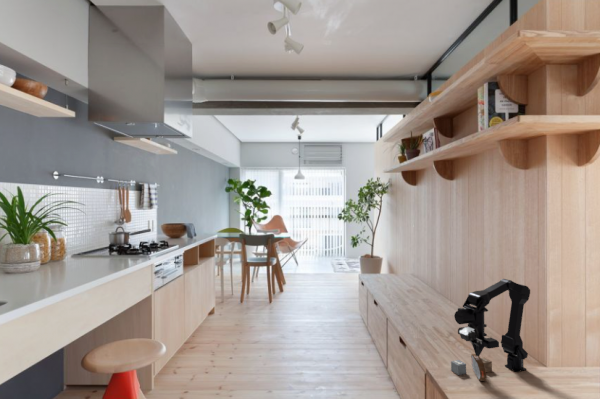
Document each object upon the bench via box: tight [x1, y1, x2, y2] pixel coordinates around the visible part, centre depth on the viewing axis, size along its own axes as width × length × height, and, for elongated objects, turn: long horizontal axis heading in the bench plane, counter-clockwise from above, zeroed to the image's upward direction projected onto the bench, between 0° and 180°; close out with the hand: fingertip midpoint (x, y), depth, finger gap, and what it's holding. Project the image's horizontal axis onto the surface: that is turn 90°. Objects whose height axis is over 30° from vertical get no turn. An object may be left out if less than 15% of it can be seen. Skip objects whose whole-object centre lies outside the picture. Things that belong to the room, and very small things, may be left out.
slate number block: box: [450, 359, 467, 376], centre depth 167 cm, size 4×4×5 cm
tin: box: [471, 353, 487, 382], centre depth 163 cm, size 15×3×8 cm, turn 168°
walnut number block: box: [480, 357, 493, 373], centre depth 169 cm, size 4×4×5 cm
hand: (477, 355), depth 163 cm, fingers closed
